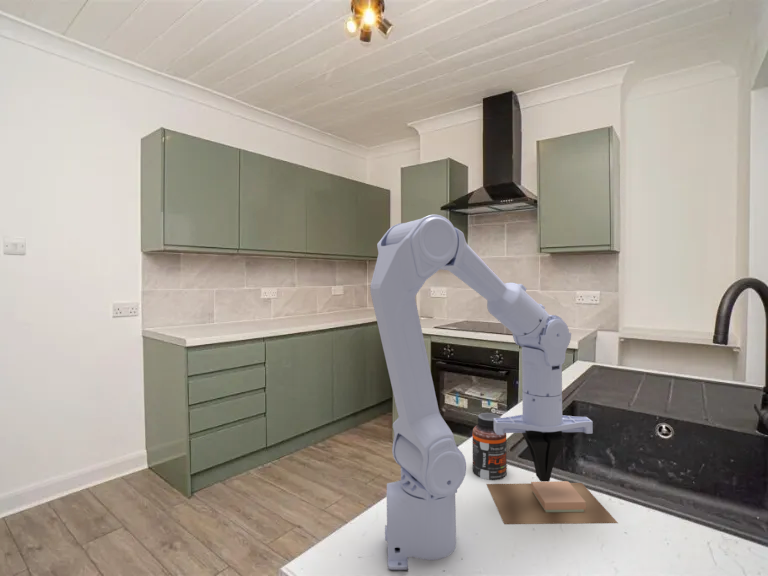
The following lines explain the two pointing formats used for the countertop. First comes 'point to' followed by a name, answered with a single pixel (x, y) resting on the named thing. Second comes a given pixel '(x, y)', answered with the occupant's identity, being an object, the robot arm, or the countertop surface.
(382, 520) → the countertop surface
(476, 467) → the supplement bottle
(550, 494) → the tile
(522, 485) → the board
